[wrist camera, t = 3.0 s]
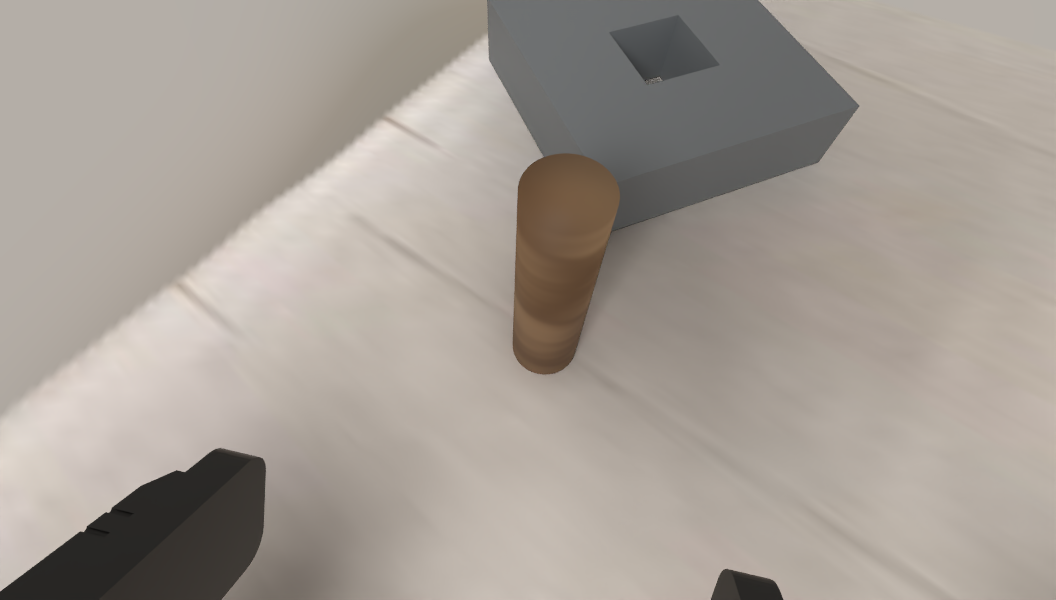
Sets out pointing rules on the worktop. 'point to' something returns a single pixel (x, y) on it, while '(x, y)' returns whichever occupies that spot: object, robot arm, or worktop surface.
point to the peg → (558, 255)
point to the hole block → (666, 93)
